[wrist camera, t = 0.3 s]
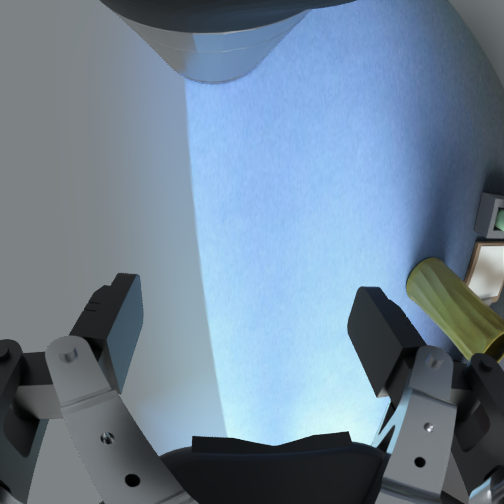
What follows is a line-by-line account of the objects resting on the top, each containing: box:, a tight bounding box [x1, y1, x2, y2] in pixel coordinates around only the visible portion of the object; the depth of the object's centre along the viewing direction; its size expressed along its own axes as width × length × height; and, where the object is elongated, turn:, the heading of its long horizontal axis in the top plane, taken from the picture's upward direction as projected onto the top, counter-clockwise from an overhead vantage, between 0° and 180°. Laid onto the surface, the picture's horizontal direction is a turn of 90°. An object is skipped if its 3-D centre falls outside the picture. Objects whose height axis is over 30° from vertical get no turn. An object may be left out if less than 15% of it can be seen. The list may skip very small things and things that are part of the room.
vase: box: [406, 257, 504, 363], centre depth 28 cm, size 6×6×14 cm
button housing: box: [474, 192, 504, 238], centre depth 30 cm, size 5×5×2 cm
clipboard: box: [464, 241, 504, 306], centre depth 35 cm, size 10×10×1 cm
